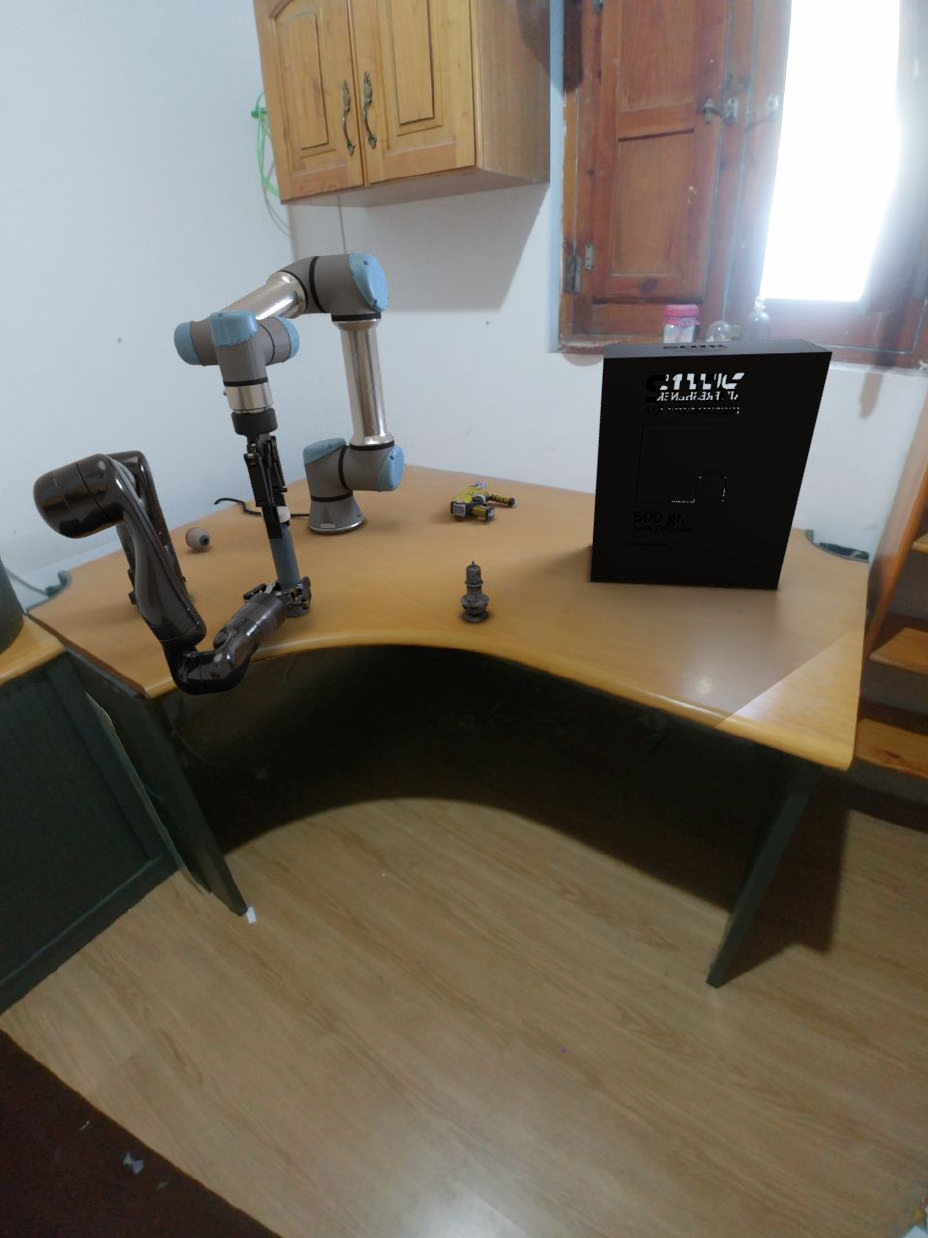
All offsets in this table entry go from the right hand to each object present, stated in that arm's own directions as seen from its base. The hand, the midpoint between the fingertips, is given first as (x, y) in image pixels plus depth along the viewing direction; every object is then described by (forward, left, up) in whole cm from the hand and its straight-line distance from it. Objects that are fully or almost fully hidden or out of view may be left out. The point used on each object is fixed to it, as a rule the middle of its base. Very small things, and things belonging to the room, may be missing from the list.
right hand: (279, 531), depth 118 cm
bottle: (0, 0, -18) cm, 18 cm away
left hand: (-2, +2, -12) cm, 12 cm away
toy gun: (-21, +68, -18) cm, 73 cm away
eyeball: (-49, -6, -18) cm, 53 cm away
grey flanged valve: (+27, +27, -18) cm, 42 cm away
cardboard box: (+39, +75, -18) cm, 86 cm away
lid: (0, 0, +4) cm, 4 cm away
